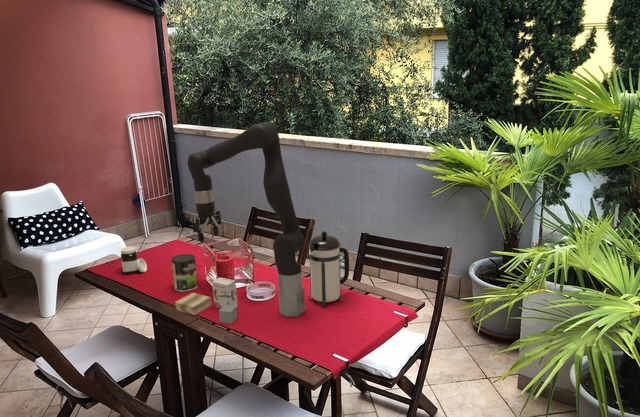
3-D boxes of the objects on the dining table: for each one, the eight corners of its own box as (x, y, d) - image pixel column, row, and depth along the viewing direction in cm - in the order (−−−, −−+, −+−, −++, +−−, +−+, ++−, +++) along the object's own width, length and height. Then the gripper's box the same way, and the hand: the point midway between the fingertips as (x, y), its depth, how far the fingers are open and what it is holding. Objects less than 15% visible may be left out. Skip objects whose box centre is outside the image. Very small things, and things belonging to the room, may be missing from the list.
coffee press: (343, 309, 204) (342, 238, 196) (304, 306, 207) (301, 236, 200) (349, 291, 221) (348, 225, 213) (313, 289, 224) (311, 223, 216)
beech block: (211, 306, 211) (210, 297, 210) (194, 316, 203) (193, 306, 202) (193, 301, 216) (192, 292, 215) (176, 310, 208) (175, 301, 207)
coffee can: (202, 285, 231) (199, 256, 227) (184, 293, 223) (181, 263, 219) (188, 280, 237) (185, 252, 233) (169, 288, 229) (166, 258, 225)
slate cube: (237, 318, 200) (236, 306, 198) (231, 324, 195) (230, 312, 194) (225, 316, 201) (224, 305, 200) (219, 322, 196) (218, 310, 195)
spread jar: (121, 269, 254) (118, 247, 251) (145, 265, 258) (142, 243, 255) (123, 277, 243) (120, 254, 240) (148, 273, 248) (145, 250, 245)
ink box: (213, 308, 208) (211, 281, 205) (221, 303, 213) (219, 276, 210) (230, 312, 204) (228, 284, 201) (238, 307, 209) (236, 280, 206)
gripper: (199, 205, 201) (203, 244, 205) (223, 197, 212) (227, 234, 216) (185, 203, 205) (190, 242, 208) (209, 196, 216) (213, 232, 220)
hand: (209, 238), depth 212 cm, fingers open, 8 cm apart
